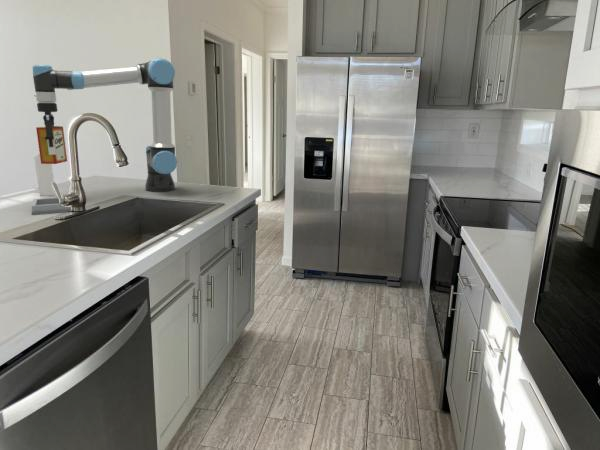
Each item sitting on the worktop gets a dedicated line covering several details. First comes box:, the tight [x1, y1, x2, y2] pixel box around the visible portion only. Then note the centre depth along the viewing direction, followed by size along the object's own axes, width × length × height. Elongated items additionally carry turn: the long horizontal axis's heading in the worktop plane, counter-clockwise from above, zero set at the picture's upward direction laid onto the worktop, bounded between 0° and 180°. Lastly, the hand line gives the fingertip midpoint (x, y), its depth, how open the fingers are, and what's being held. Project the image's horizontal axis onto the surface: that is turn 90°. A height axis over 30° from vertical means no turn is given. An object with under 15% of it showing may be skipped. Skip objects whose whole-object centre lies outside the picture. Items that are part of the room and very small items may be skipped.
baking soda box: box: [35, 125, 68, 165], centre depth 199 cm, size 10×6×16 cm
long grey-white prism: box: [33, 153, 56, 197], centre depth 217 cm, size 6×6×22 cm
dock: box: [31, 197, 71, 216], centre depth 191 cm, size 15×16×4 cm
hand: (53, 153), depth 200 cm, fingers closed on baking soda box, 11 cm apart
